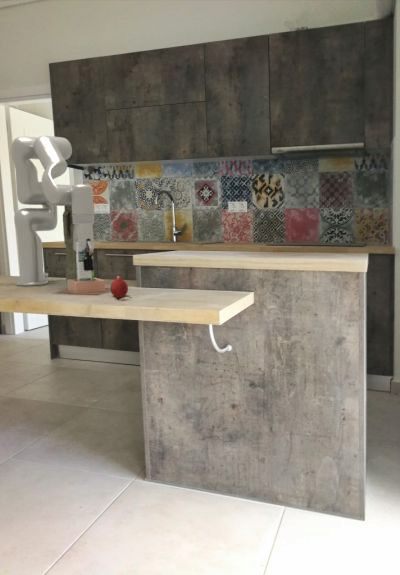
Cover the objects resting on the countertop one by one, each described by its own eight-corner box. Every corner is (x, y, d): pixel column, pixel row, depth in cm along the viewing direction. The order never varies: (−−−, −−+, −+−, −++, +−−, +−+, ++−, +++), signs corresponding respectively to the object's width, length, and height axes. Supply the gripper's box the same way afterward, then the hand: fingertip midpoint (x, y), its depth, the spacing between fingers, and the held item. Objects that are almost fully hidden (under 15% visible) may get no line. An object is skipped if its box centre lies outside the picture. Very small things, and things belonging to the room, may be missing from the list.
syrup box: (78, 283, 190) (76, 242, 188) (77, 281, 196) (75, 241, 194) (94, 282, 192) (93, 242, 190) (92, 280, 197) (91, 241, 195)
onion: (120, 297, 185) (119, 274, 184) (131, 299, 182) (131, 275, 181) (107, 299, 181) (106, 276, 180) (118, 301, 177) (118, 277, 176)
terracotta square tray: (67, 290, 196) (67, 279, 195) (95, 288, 201) (94, 277, 201) (76, 293, 187) (75, 282, 186) (105, 291, 192) (104, 280, 192)
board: (75, 290, 205) (75, 287, 205) (119, 291, 201) (119, 288, 200) (51, 297, 188) (51, 293, 188) (98, 298, 183) (97, 295, 183)
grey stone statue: (59, 288, 211) (55, 198, 206) (76, 284, 222) (72, 199, 217) (78, 289, 208) (74, 198, 203) (94, 285, 219) (91, 198, 214)
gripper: (65, 219, 196) (68, 268, 199) (80, 220, 181) (82, 272, 184) (85, 219, 200) (87, 267, 202) (101, 219, 185) (103, 270, 187)
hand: (85, 269), depth 193 cm, fingers closed on syrup box, 6 cm apart
